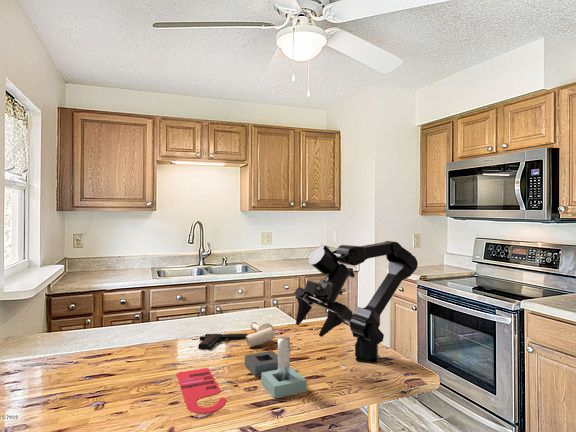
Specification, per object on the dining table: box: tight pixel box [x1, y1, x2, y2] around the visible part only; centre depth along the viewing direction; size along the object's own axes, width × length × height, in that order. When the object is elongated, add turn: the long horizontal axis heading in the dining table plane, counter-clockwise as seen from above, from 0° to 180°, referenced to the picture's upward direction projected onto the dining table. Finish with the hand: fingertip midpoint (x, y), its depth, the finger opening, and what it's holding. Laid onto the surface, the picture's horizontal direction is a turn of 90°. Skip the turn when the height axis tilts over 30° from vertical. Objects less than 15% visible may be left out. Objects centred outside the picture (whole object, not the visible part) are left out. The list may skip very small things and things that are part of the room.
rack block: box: [260, 366, 307, 399], centre depth 101 cm, size 9×9×3 cm
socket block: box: [244, 350, 278, 378], centre depth 114 cm, size 9×9×3 cm
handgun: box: [197, 333, 249, 351], centre depth 135 cm, size 2×17×12 cm
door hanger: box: [175, 367, 227, 414], centre depth 100 cm, size 9×1×25 cm
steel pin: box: [277, 336, 291, 382], centre depth 101 cm, size 3×3×13 cm
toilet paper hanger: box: [245, 321, 275, 349], centre depth 141 cm, size 21×11×7 cm, turn 21°
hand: (308, 330), depth 109 cm, fingers open, 9 cm apart
